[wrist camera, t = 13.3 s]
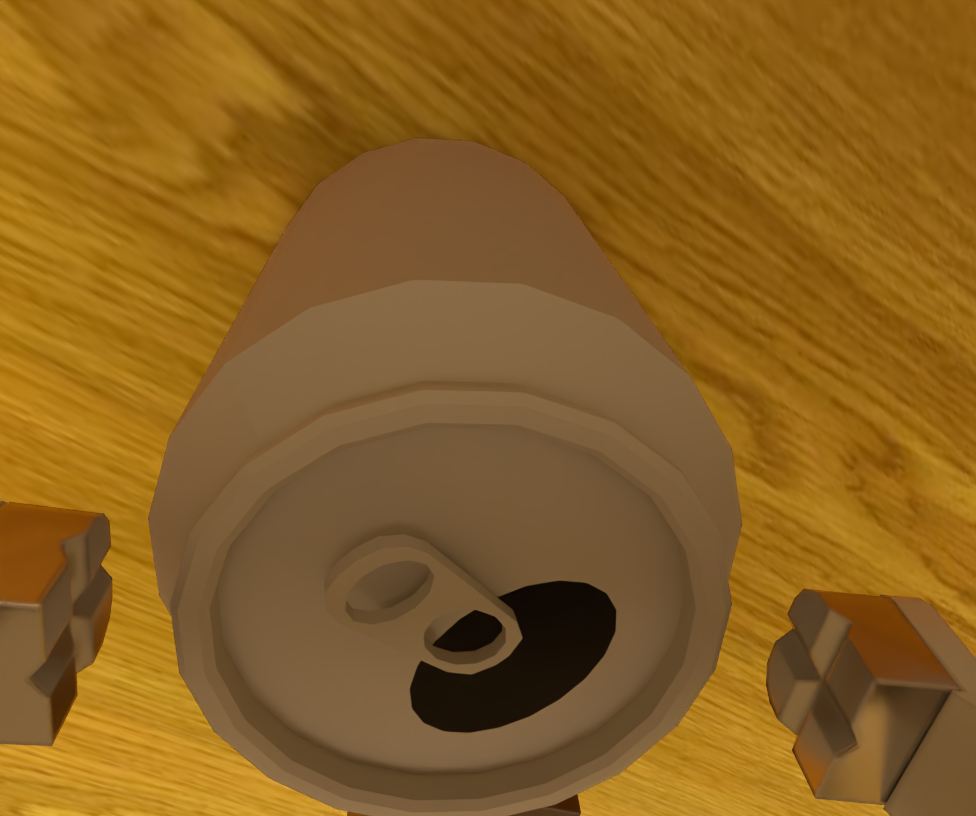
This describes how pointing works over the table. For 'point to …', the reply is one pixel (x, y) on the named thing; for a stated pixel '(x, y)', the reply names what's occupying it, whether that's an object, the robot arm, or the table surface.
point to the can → (444, 502)
